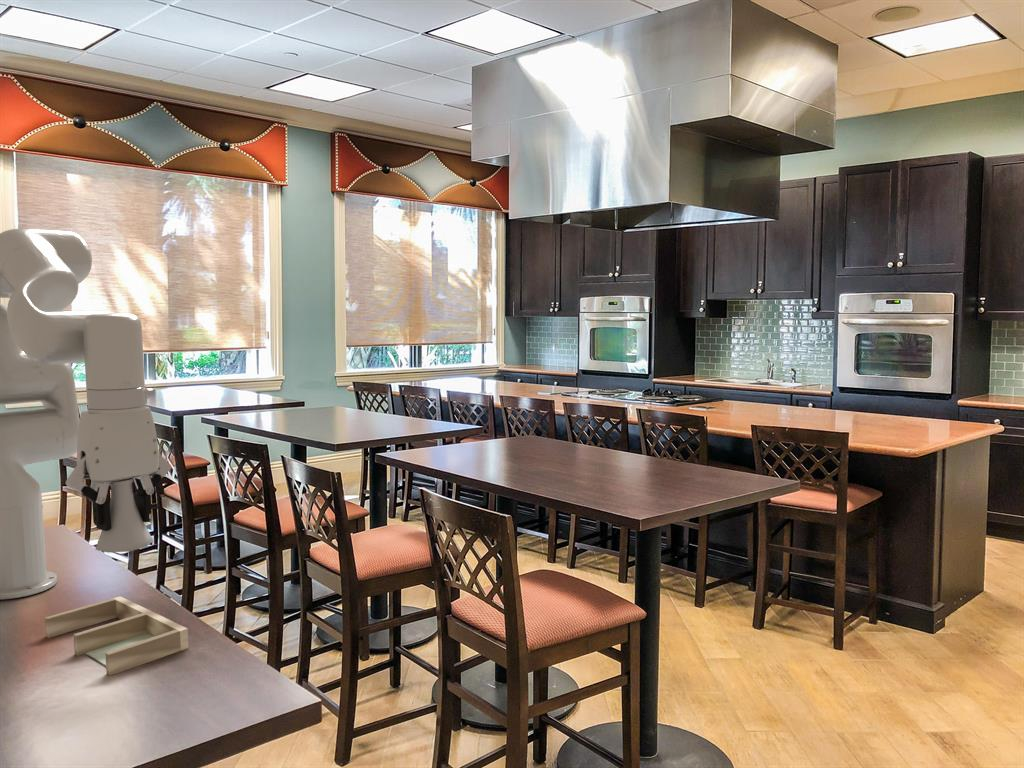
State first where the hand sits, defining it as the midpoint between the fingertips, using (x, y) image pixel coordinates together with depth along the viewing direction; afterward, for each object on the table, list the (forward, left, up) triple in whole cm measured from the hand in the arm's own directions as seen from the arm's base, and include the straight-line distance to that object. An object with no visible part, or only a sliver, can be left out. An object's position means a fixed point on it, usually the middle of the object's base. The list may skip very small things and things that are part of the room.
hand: (123, 523), depth 120 cm
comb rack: (-5, 0, -19) cm, 20 cm away
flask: (0, 0, -4) cm, 4 cm away
